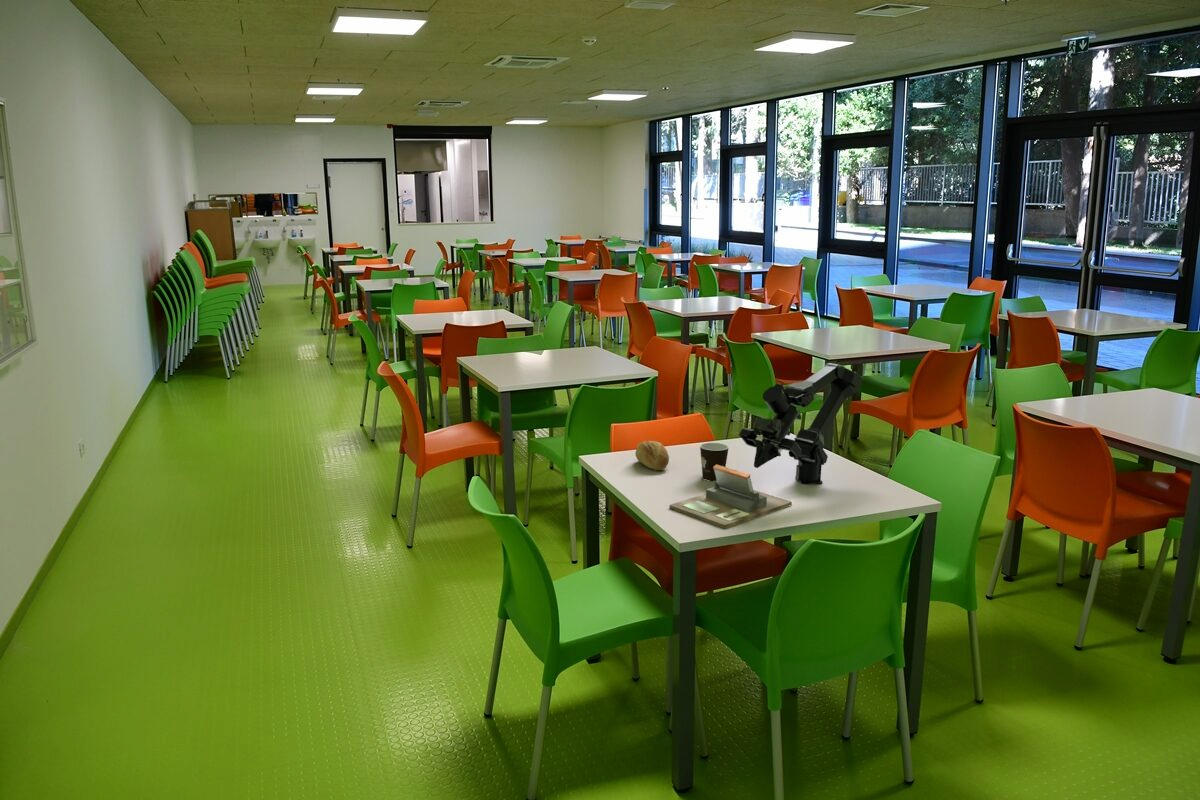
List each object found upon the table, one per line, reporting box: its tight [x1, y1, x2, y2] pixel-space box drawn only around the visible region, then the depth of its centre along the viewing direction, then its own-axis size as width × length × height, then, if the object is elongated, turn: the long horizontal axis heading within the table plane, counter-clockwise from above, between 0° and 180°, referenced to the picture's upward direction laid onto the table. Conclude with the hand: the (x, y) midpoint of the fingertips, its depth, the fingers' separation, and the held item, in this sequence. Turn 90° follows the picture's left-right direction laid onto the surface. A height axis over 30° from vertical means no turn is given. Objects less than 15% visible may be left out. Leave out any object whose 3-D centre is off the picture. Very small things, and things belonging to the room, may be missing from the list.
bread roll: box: [634, 440, 670, 471], centre depth 276 cm, size 10×15×8 cm, turn 20°
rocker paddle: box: [713, 464, 754, 498], centre depth 239 cm, size 1×13×7 cm, turn 40°
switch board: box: [668, 481, 793, 529], centre depth 239 cm, size 28×20×5 cm
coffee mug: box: [699, 442, 729, 482], centre depth 265 cm, size 12×9×10 cm
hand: (755, 467), depth 244 cm, fingers closed
